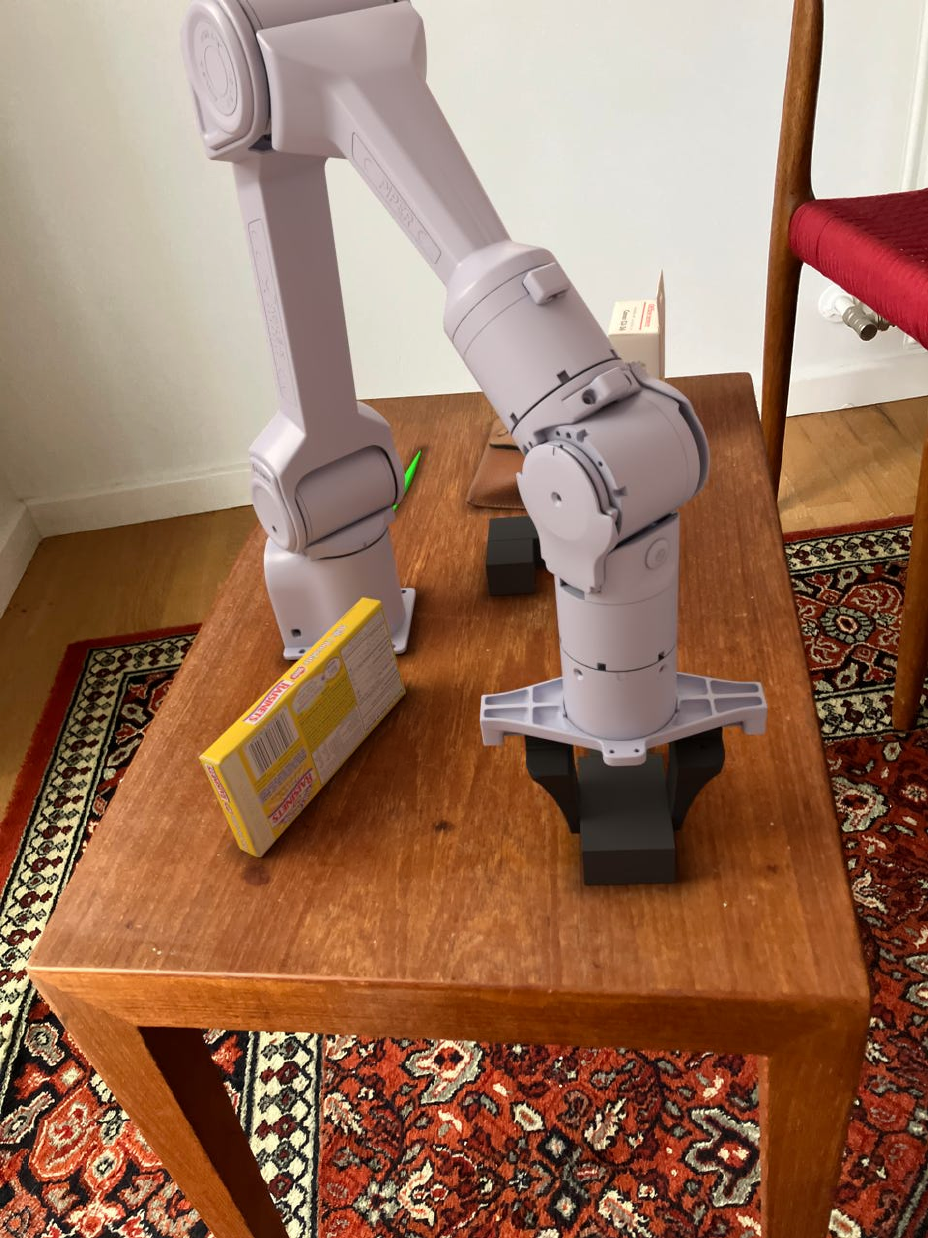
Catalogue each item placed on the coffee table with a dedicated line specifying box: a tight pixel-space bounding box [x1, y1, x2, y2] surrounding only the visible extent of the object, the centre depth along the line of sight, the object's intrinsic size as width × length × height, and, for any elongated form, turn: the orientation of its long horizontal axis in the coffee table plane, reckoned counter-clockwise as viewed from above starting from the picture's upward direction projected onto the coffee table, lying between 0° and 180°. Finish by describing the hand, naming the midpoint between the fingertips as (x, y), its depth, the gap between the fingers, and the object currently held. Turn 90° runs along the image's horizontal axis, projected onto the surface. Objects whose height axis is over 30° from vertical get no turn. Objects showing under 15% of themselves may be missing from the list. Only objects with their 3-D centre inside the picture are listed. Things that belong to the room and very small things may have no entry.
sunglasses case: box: [465, 417, 527, 511], centre depth 92 cm, size 18×7×7 cm
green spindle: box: [393, 448, 423, 512], centre depth 92 cm, size 1×14×1 cm, turn 169°
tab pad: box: [577, 748, 677, 886], centre depth 55 cm, size 5×10×3 cm, turn 176°
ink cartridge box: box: [607, 268, 666, 382], centre depth 91 cm, size 9×5×15 cm, turn 168°
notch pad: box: [485, 515, 547, 596], centre depth 77 cm, size 12×7×3 cm, turn 86°
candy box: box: [198, 597, 407, 858], centre depth 60 cm, size 16×2×8 cm, turn 149°
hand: (623, 818), depth 54 cm, fingers closed on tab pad, 5 cm apart
